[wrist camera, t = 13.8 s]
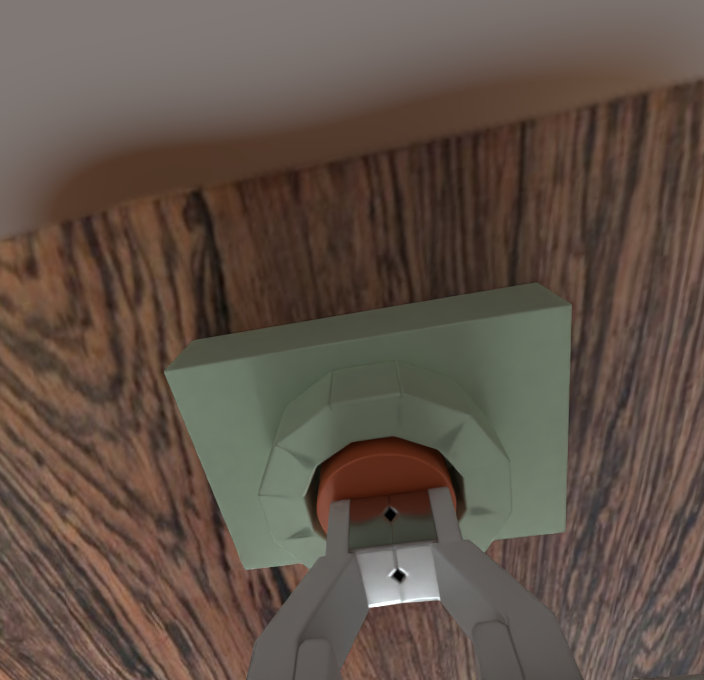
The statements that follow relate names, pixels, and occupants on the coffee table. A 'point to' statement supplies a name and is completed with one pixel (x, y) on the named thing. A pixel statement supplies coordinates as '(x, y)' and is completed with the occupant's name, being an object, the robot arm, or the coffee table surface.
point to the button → (379, 472)
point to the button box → (385, 412)
